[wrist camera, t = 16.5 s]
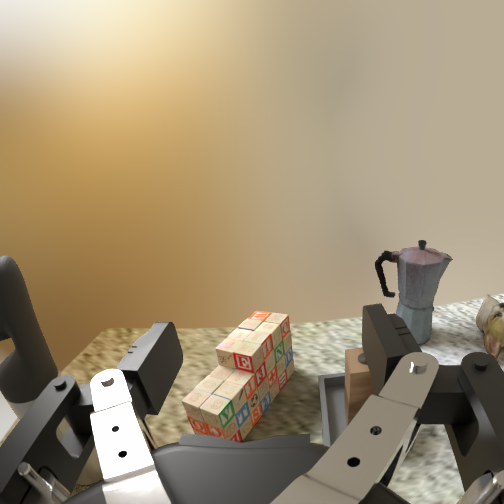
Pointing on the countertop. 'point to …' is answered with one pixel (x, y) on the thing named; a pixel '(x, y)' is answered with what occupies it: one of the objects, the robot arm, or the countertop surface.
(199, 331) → the countertop surface
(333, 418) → the charcoal tray
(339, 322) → the countertop surface
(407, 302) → the moka pot
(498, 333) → the ceramic sculpture
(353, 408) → the walnut block
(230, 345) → the stack of blocks
